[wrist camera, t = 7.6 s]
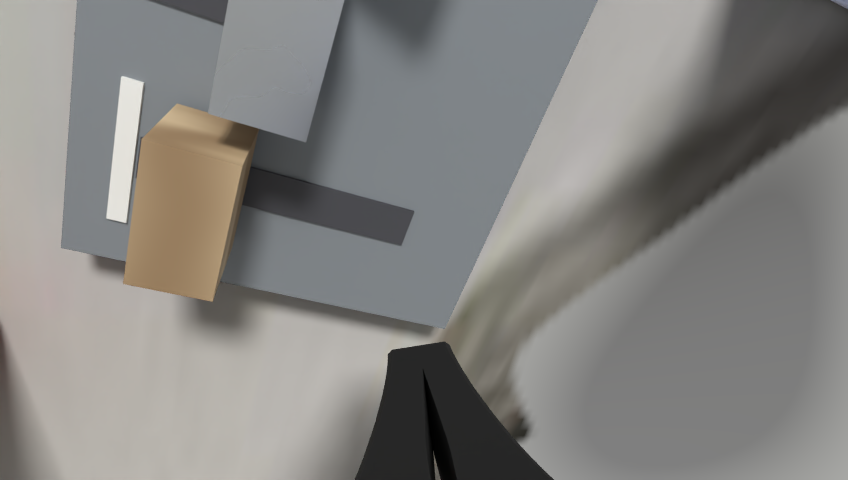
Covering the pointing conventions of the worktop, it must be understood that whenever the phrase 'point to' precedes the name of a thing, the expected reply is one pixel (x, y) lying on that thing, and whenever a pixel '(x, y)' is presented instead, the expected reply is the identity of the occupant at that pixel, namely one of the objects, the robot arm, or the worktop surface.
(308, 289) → the console
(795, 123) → the worktop surface
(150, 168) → the oak slider
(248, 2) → the steel slider
